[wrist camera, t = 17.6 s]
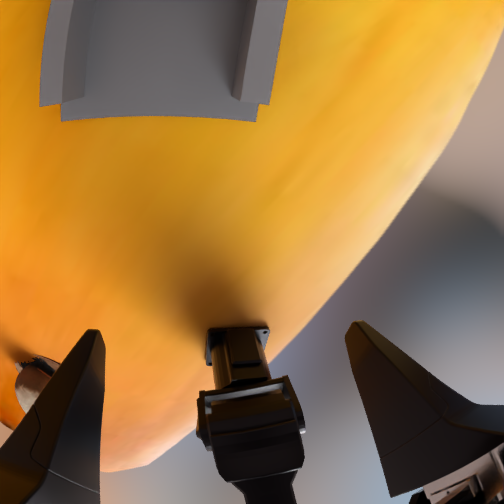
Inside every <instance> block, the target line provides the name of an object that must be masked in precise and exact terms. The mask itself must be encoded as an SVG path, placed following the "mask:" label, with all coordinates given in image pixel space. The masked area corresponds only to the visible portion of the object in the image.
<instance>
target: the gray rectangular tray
mask: <svg viewBox="0 0 504 504" xmlns="http://www.w3.org/2000/svg"><path fill="white" fill-rule="evenodd" d="M287 1H288V0H51V5H50V9H49V14H48V19H47V25H46V31H45V37H44V45H43V53H42V63H41V77H40V107H42V106H48V105H54V104H61V121H70V120H79V119H90V118H104V117H123V116H186V117H206V118H220V119H232V120H242V121H252V122H256V117H257V111H258V105H259V104H265V105H269V103H270V97H271V91H272V85H273V80H274V74H275V68H276V62H277V57H278V51H279V46H280V40H281V34H282V29H283V23H284V18H285V12H286V7H287Z"/></svg>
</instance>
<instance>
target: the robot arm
mask: <svg viewBox="0 0 504 504" xmlns="http://www.w3.org/2000/svg"><path fill="white" fill-rule="evenodd" d="M269 333H270V330H269V327H266V326H264V327H245V328H216V329H209V330H208V331H207V347H206V365H207V366H212V367H213V375H214V382H215V389H216V390H209V391H205V390H203V391H199V398H198V399H197V408H198V419H197V427H196V435H197V437H198V438H200V439H201V440H202V441H203V443H204V445H205V447H206V450H207V451H213V455H214V459H215V462H216V467H217V469H218V472H219V474H220V475H221V477H222V478H223V479H224V480H225V481H226V482H231V483H232V484H233V485H234V486H235V487H236V488H238V489H239V490H240V491H241V492H242V493H243V494H244V497H245V501H246V504H297V503H296V499H295V495H294V491H293V487H292V483H293V481H294V478H295V476H296V474H297V471H298V469H301V468H302V465H303V462H304V458H305V456H304V449H303V444H302V439H301V434H303V433H305V431H306V428H305V421H304V416H303V412H302V409H301V406H300V403H299V401H298V398H297V396H296V394H295V391H294V389H293V387H292V385H291V382H290V380H289V377H288V375H286V376H282V377H280V378H276V379H272V378H271V375H270V371H269V368H268V364H267V360H266V357H265V353H264V349H265V346H266V343H267V340H268V336H269ZM345 343H346V346H347V351H348V355H349V359H350V364H351V368H352V372H353V375H354V378H355V381H356V384H357V387H358V390H359V393H360V396H361V399H362V402H363V405H364V408H365V411H366V415H367V418H368V421H369V424H370V427H371V430H372V433H373V437H374V440H375V443H376V447H377V450H378V454H379V457H380V461H381V464H382V468H383V472H384V475H385V479H386V483H387V486H388V490H389V494H390V497H391V498H392V497H395V496H398V495H401V494H404V493H407V492H409V491H412V490H415V489H417V488H420V487H423V489H421V490H420V491H418V492H416V493H415V494H413V495H412V497H411V499H410V502H409V504H504V405H480V404H476V403H473V402H471V401H469V400H468V399H466V398H465V397H463V396H462V395H460V394H458V393H457V392H456V391H454V390H453V389H451V388H450V387H448V386H447V385H446V384H444V383H443V382H441V381H440V380H439V379H437V378H436V377H435V376H433V375H432V374H431V373H430V372H428V371H427V370H426V369H425V368H423V367H422V366H421V365H420V364H418V363H417V362H416V361H415V360H413V359H412V358H411V357H409V356H408V355H407V354H406V353H404V352H403V351H402V350H400V349H399V348H398V347H397V346H395V345H394V344H393V343H391V342H390V341H389V340H388V339H386V338H385V337H384V336H383V335H381V334H380V333H379V332H378V331H376V330H375V329H374V328H372V327H371V326H370V325H369V324H367V323H366V322H365V321H363V320H359V321H354V322H353V323H352V324H351V326H350V327H349V329H348V331H347V333H346V335H345ZM105 354H106V348H105V343H104V341H103V338H102V335H101V332H100V331H99V330H98V329H88V330H87V331H86V332H85V333H84V334H83V336H82V337H81V338H80V339H79V341H78V342H77V343H76V345H75V346H74V347H73V349H72V350H71V351H70V353H69V354H68V355H67V356H66V358H65V359H64V361H63V362H62V363H61V365H60V366H59V367H58V369H57V370H56V371H55V373H54V374H53V376H52V377H51V378H50V380H49V381H48V383H47V384H46V386H45V387H44V388H43V390H42V391H41V393H40V394H39V396H38V397H37V399H36V400H35V402H34V404H32V406H31V407H30V409H29V411H28V412H27V413H26V415H25V416H24V418H23V419H22V421H21V422H20V424H19V425H18V426H17V427H16V429H15V430H14V431H13V433H12V434H11V435H10V437H9V438H8V439H7V440H6V441H5V443H4V444H3V445H2V447H1V448H0V504H100V494H99V493H100V441H101V425H102V413H103V403H104V392H105Z"/></svg>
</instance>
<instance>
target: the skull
mask: <svg viewBox="0 0 504 504" xmlns="http://www.w3.org/2000/svg"><path fill="white" fill-rule="evenodd" d="M33 355H34V354H33ZM35 356H37V357H39V358H36V357H35V358H36V359H34V358H32V359H34V360H35V361H34V362H31V363H27V364H26V362H24V363H22V362H21V365H22V366H21V365H20V364H19V362H18V361H17V362H18V363H17V364H16V363H15V366H16V369H17V370H18V372H19V375H18V377H17V379H16V383H15V392H16V395H17V398H18V401H19V403H20V405H21V406H22V408H23V410H24V411H25V412H26V413H27V412H28V411H29V409H30V407H31V406H32V404H34V402H35V400H36V399H37V397H38V396H39V394H40V393H41V391H42V390H43V388H44V387H45V386H46V384H47V383H48V381H49V380H50V378H51V377H52V376H53V374H54V373H55V371H56V370H57V369H58V367H59V366H60V364H57V363H55V362H53V361H51V360H50V359H46V358H44V357H42V356H38V355H35ZM42 361H43V362H42ZM28 362H29V361H28Z"/></svg>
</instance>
